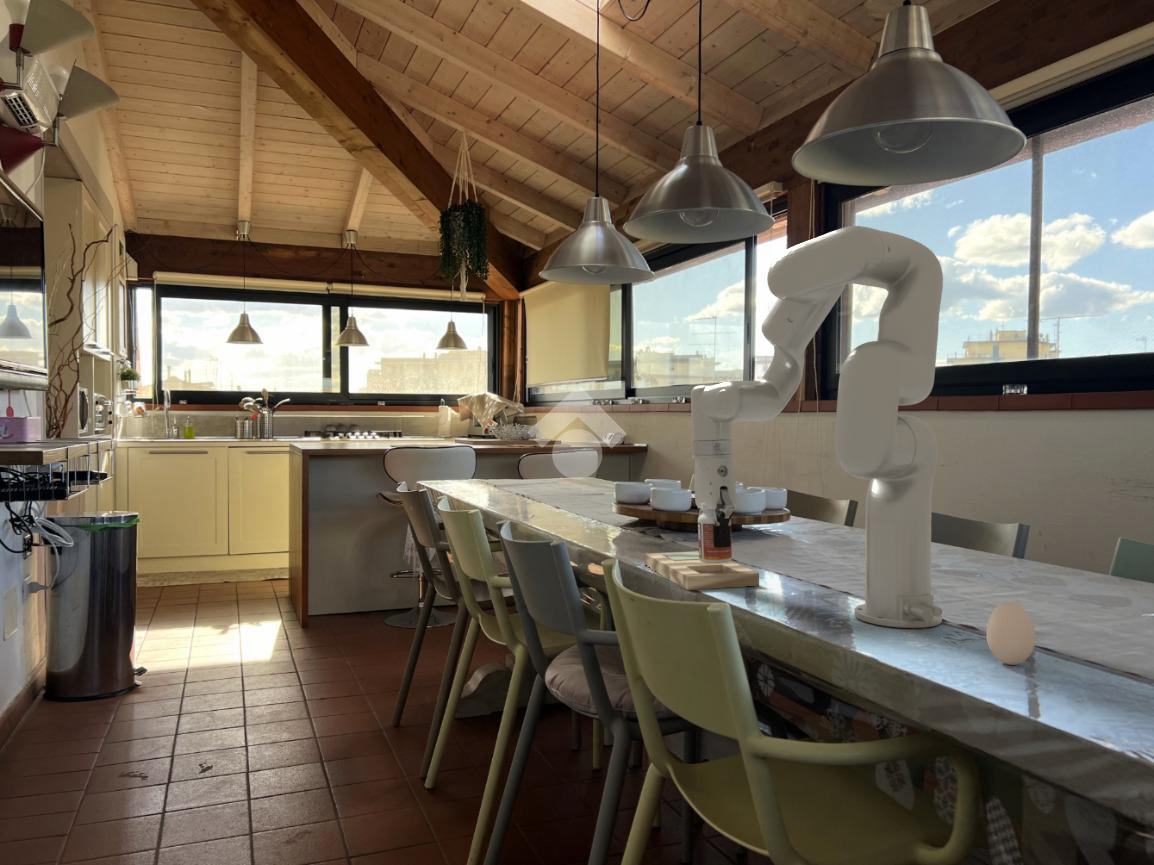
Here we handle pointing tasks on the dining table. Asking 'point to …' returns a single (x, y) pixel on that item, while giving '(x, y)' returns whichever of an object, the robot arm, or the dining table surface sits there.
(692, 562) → the pocket board
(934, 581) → the dining table surface
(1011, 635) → the egg
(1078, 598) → the dining table surface
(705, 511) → the pill bottle
